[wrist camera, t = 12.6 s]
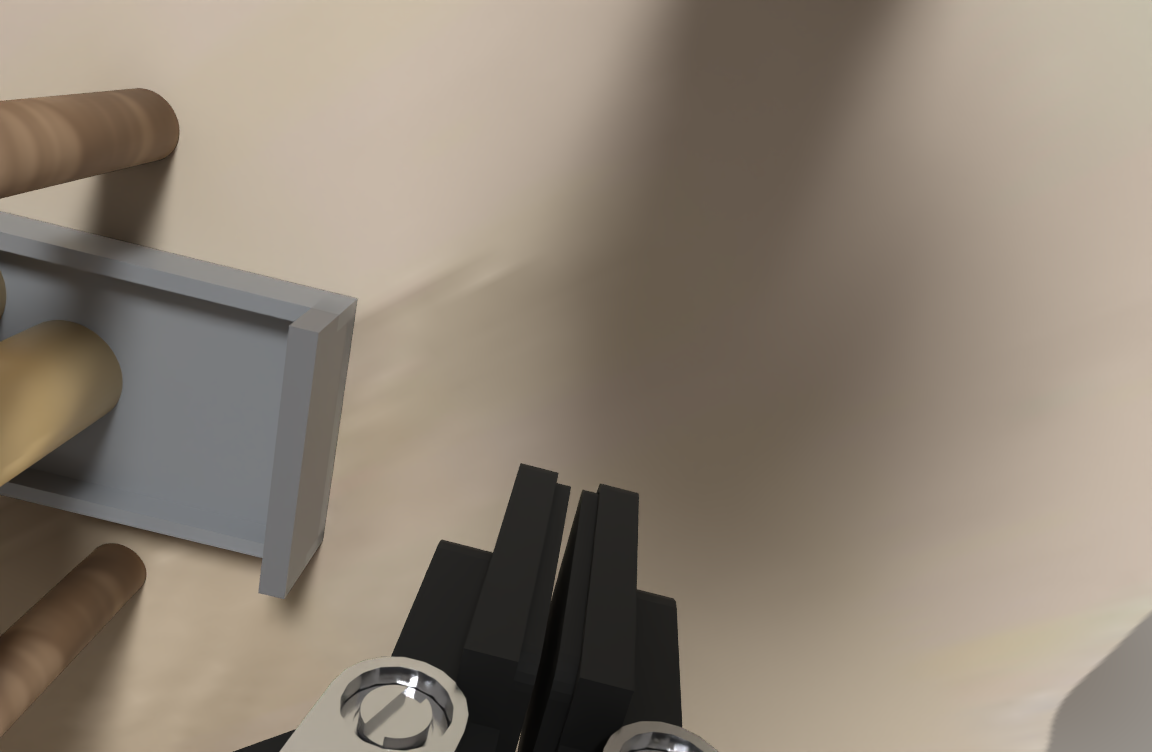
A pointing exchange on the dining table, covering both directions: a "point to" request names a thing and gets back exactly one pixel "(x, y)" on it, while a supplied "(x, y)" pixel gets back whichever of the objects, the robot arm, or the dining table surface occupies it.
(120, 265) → the tray
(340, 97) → the dining table surface
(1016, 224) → the dining table surface
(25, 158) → the low table
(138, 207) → the dining table surface
